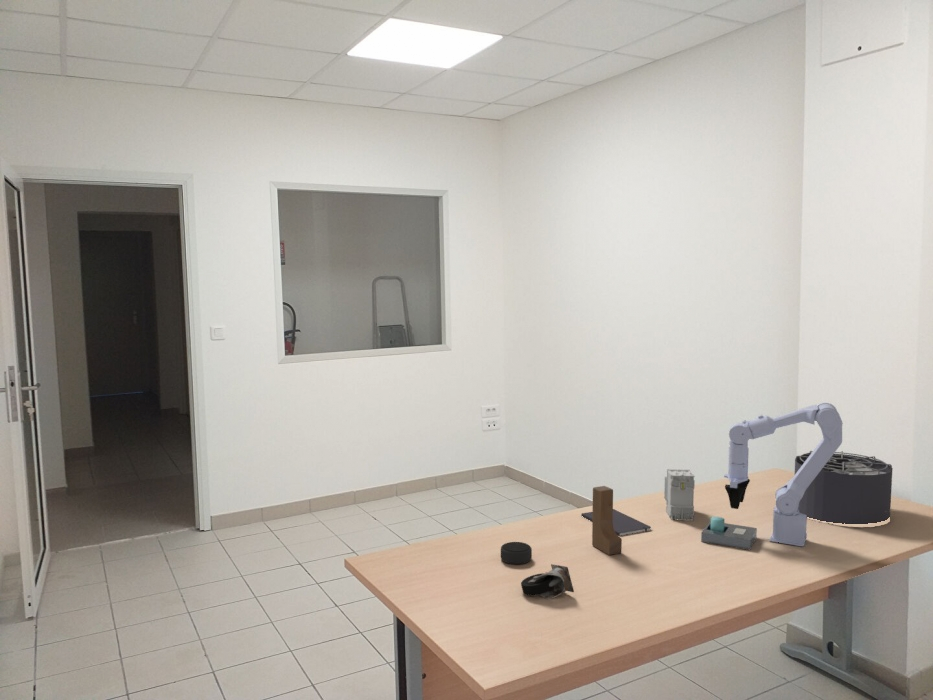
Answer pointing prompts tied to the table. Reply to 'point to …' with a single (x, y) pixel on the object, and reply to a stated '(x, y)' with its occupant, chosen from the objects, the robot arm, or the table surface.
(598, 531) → the wooden block
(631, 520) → the notebook
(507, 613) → the table surface
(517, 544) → the smart speaker
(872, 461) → the ventilation fan
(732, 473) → the robot arm
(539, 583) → the caster wheel
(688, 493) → the circuit breaker
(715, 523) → the barrel peg
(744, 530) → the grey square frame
